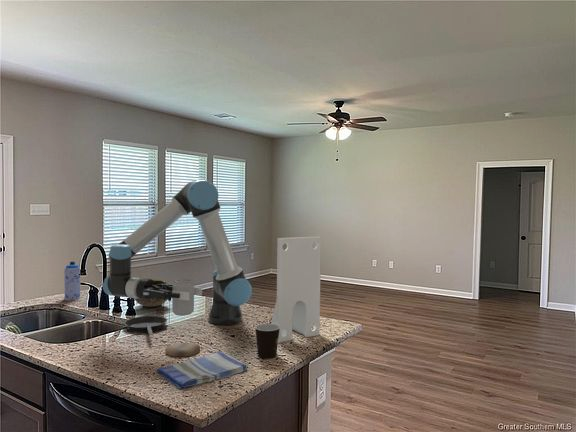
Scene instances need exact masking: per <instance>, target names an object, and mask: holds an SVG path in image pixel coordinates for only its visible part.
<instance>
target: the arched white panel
mask: <svg viewBox="0 0 576 432" xmlns="http://www.w3.org/2000/svg"><path fill="white" fill-rule="evenodd" d="M276 242H277V244H276V245H277V252H276V256H277V257H276V265H277V266H276V299H275V300H276V301H275V305H274V309H273V312H272V318H271V323H270V324H275V325H278V326H280V330H279V338H278V344H279V343H283V342H288V341H293V331H295V332H297V333H300V334H302V335H304V337H305V338H309V337H314V336H319V335H320V323H321V321H320V319H321V318H320V316H321V315H320V314H321V270H322V269H321V268H322V267H321V265H322V263H321V262H322V259H321V258H322V257H321V255H322V236H303V237H301V236H300V237H278V238H277V241H276ZM314 243H315V247H313V245H314ZM284 245H286V248H285V249H284ZM313 325H314V328H313V329H311V328H312V326H313Z"/></svg>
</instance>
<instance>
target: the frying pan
mask: <svg viewBox="0 0 576 432" xmlns="http://www.w3.org/2000/svg"><path fill="white" fill-rule="evenodd" d="M167 321H168V318H166V317H165V316H160V315H143V316H135V317H132V318H128V319H126V320H125V321H124V322H123V324H124V326H125V327H126V328H127V329H128V330H129V331H131V332H133V333H135V332H136V333H148V334H149V336H154V334H153V332H154V331H158V330H160V329H163V327H164V326H165V325H166V323H167Z"/></svg>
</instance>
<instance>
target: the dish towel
mask: <svg viewBox="0 0 576 432" xmlns="http://www.w3.org/2000/svg"><path fill="white" fill-rule="evenodd" d="M248 370H249V369H248V364H247V363H243V361H241V360H239V359H237V358H235V357H234V356H231V355H229V354H227V353H226V352H224V351H216V352H213V353H212V354H209V355H206V356H202V357H197V358H194V359H192V360H191V359H190V360H187V361H182V362H180V363H176V364H174V365H169V366H164V367H159V368H157V369H156V372H157V373H158V374H159V375H160V376H162V377H163V378H164V377H165V378H164V379H166V380H167V381H168V382H169V383H170V382H171V383H170V384H172V385H173V384H174V386H175V388H177V387H178V388H177V389H179V390H180V389H181V390H182V389H183V388H184V389H187V387H188V388H191V387H195V386H199V385H203V384H206V382H207V383H209V382H211V381H215V380H219V379H224V378H227V377H230V376H231V377H232V376H233V375H235V374H239V373H242V372H246V371H248ZM198 384H199V385H198ZM184 389H183V390H184Z"/></svg>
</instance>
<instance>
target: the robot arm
mask: <svg viewBox="0 0 576 432" xmlns="http://www.w3.org/2000/svg"><path fill="white" fill-rule="evenodd" d="M220 210H221V205H220V202H219V191H218V188H217V187H216V185H215V184H213V183H212V182H210V181H209V180H207V179H197V180H192V181H190V182H187V184H185V185H184V186H183V187H182V188H181V189H180V190H179V191H178V192H177V193H176V194H175V195H173V196H172V197H171V201H170V202H169V203H167V205H165V206H164V207H162V208H161V210H159V211H158V212H157V213H156V214H154V215H153V216H152V217H150V218H149V219H148V220H147V221H146V222H144V223H143V224H142V225H140V227H138V228H137V229H135V230H134V231H133V232H132V233H131V234H129V235H128V236H127V237H125V238H124V239H123V240H122V241H121V242H120V243H118V244H112V245H111V246H110V247H109V252H108V259H109V275H108V276H106V277H105V278H104V280H103V283H102V290H103V292H104V293H105V294H106V295H109V296H114V297H120V298H122V297H123V298H130V299H133V300H134V301H135V300H136V299H137V298H140V299H146V300H149V299H151V298H156V299H162V300H166V299H168V300H167V301H168V302H171V301H172V299H179V300H189V292H182V291H172V286H173V284H174V283H168V282H166V284H157V285H156V283H155V281H154V280H155V279H152V278H144V277H134V276H133V277H132V258H134V256H136V255H137V254H138V253H139V252H140V251H141V250H143V249H144V248H145V247H146V246H147V245H149V244H150V243H151V242H152V241H153V240H155V239H156V238H157V237H159V236H160V235H161V234H162V233H163V232H165V231H166V230H168V228H169V227H171V226H173V224H174V223H176V222H177V221H178V220H180V218H182V217H183V216H188V215H189V214H190V213H191V215H192V217H193V218H194V219H196V220H197V221H198V223H199V226H200V228H201V231H202V234H203V236H204V239H205V242H206V244H207V247H208V250H209V252H210V253H209V254H210V255H211V258H212V261H213V264H214V267H215V270H214V271H213V273H212V304H211V307H210V311H209V313H208V322H209V323H210V324H214V325H222V326H223V325H234V324H238V323H240V322H242V321H243V312H242V308H241V307H240V306H242V305H245V304H246V303H248V301H249V300H250V298H251V296H252V292H253V288H252V285H251V284H250V282H249V280H247V278H246V276H245V273H244V270H243V268H242V267H241V266H239V265H237V261H236V259H235V256H234V253H233V250H232V247H231V244H230V241H229V239H228V235H227V233H226V230H225V228H224V225H223V222H222V219H221V216H220ZM202 295H203V287H197V286H196V287H195V286H194V296H202Z"/></svg>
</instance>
